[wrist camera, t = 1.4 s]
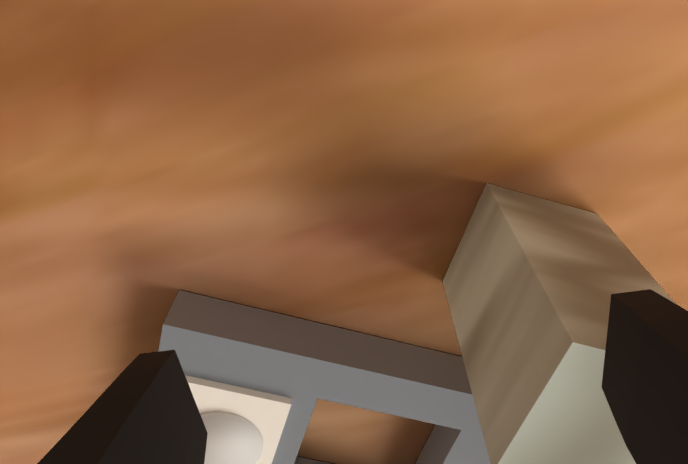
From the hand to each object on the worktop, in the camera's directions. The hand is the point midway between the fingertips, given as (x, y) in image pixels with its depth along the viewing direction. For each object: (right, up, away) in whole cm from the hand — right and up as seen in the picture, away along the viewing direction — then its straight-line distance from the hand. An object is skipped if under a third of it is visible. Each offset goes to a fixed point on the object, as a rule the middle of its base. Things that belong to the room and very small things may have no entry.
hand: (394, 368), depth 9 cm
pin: (+5, +2, +10) cm, 11 cm away
